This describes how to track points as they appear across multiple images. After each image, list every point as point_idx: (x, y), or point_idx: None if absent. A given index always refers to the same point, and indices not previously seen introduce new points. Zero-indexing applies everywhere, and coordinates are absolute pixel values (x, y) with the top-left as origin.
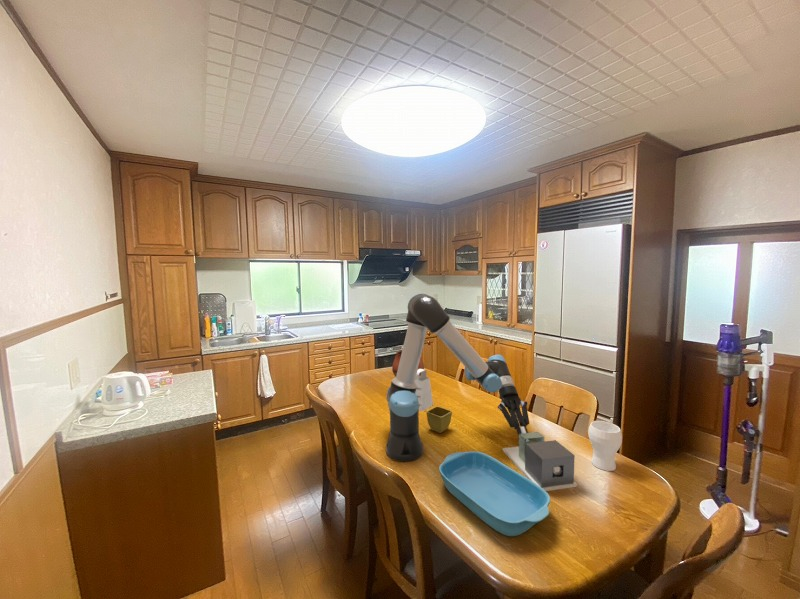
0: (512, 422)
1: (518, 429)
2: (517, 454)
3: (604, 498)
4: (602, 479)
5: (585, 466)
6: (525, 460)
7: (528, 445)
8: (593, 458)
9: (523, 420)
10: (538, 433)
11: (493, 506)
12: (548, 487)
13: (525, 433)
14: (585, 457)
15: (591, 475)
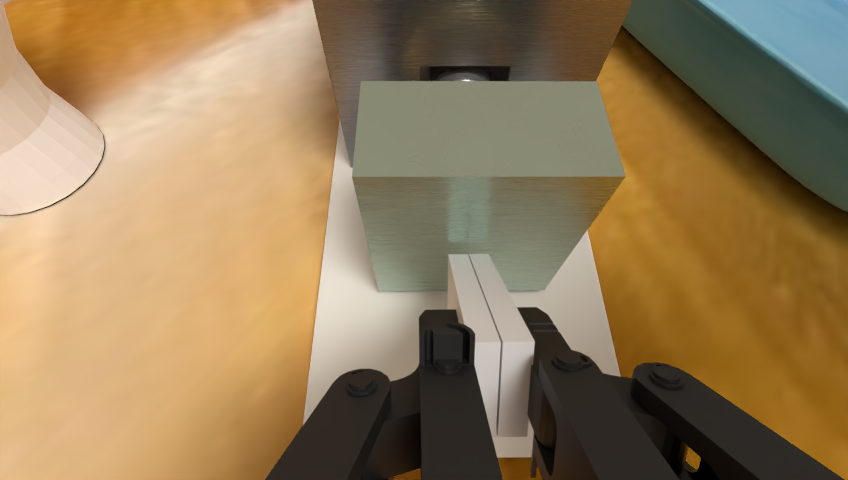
0: (702, 400)
1: (559, 346)
2: None
3: (298, 6)
4: (184, 79)
5: (155, 168)
6: None
7: None
8: (58, 151)
9: (438, 418)
10: (376, 142)
11: (773, 18)
12: None
13: (538, 169)
14: (48, 243)
15: (205, 107)
